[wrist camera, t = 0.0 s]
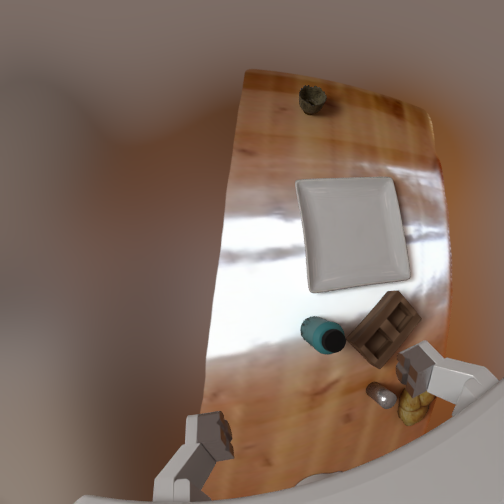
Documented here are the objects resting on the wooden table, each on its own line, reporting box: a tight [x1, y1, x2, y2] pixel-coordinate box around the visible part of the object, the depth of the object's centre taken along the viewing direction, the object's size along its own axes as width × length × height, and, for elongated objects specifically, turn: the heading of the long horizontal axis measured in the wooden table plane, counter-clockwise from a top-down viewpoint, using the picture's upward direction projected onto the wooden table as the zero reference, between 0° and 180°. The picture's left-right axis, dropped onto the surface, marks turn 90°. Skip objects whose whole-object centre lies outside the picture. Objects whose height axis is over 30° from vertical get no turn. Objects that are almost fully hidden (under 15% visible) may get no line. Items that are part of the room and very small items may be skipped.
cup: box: [299, 85, 327, 115], centre depth 69 cm, size 8×7×8 cm
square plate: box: [295, 177, 410, 293], centre depth 66 cm, size 27×27×4 cm
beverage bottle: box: [300, 316, 346, 354], centre depth 54 cm, size 6×7×20 cm
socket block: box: [346, 291, 422, 369], centre depth 60 cm, size 10×16×6 cm, turn 134°
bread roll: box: [398, 388, 436, 426], centre depth 56 cm, size 13×10×8 cm
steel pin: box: [366, 382, 397, 409], centre depth 56 cm, size 4×4×10 cm
